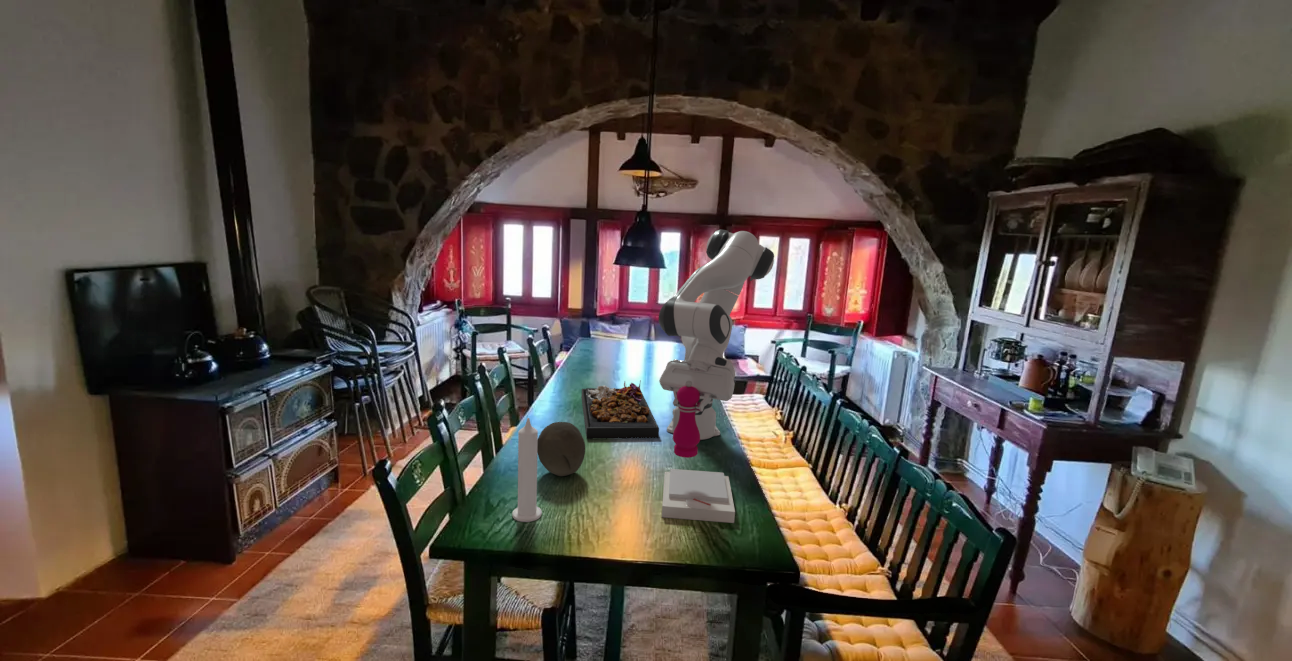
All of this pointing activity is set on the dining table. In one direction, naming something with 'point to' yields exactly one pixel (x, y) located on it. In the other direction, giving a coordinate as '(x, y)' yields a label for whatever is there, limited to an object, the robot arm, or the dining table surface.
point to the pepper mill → (687, 422)
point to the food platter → (617, 413)
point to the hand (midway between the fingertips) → (687, 407)
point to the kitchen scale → (697, 496)
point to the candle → (527, 475)
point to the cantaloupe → (561, 448)
